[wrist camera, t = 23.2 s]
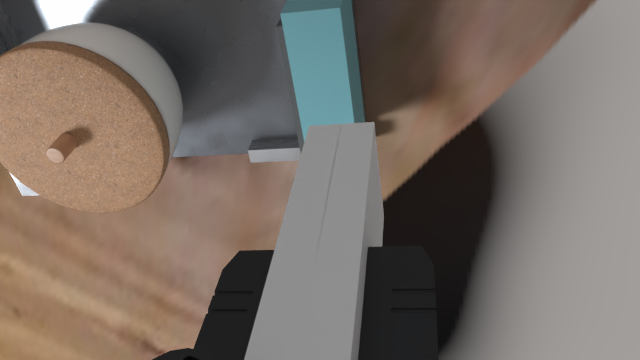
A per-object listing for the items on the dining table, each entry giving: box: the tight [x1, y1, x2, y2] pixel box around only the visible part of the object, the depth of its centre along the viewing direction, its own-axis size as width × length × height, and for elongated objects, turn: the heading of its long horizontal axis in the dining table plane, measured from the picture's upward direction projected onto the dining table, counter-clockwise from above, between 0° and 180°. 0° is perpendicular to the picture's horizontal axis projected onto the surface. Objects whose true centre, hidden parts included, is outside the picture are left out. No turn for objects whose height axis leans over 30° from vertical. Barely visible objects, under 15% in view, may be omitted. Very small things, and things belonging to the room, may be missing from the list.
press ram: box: [276, 0, 365, 153], centre depth 33 cm, size 4×10×5 cm, turn 8°
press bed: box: [0, 0, 367, 196], centre depth 36 cm, size 24×13×5 cm, turn 98°
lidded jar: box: [0, 22, 183, 213], centre depth 34 cm, size 11×11×9 cm
